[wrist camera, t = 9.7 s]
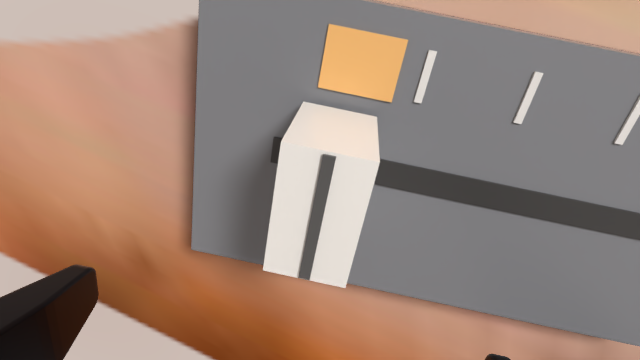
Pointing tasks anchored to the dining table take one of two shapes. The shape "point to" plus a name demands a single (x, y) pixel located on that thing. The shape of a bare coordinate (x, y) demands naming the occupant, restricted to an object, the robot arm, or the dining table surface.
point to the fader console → (436, 153)
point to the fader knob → (321, 193)
